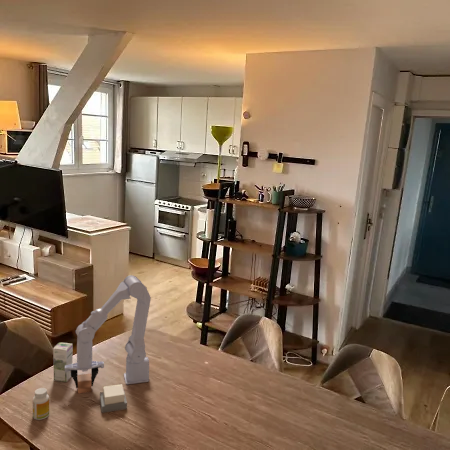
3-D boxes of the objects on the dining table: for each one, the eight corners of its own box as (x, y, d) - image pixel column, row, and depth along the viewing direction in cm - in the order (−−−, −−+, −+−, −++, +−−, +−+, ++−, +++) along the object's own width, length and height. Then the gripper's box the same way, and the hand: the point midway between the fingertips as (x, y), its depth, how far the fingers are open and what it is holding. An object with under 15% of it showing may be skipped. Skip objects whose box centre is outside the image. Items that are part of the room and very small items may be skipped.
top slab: (121, 391, 163) (122, 384, 162) (124, 401, 156) (124, 394, 156) (103, 393, 160) (103, 386, 160) (104, 404, 154) (105, 397, 153)
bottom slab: (123, 396, 165) (123, 389, 164) (126, 410, 156) (127, 402, 156) (99, 399, 161) (99, 392, 161) (101, 413, 153) (101, 406, 153)
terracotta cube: (90, 384, 170) (90, 373, 169) (91, 391, 165) (91, 380, 164) (77, 386, 168) (77, 375, 167) (77, 393, 163) (77, 381, 162)
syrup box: (73, 374, 175) (73, 342, 173) (66, 382, 170) (66, 349, 167) (60, 373, 176) (59, 341, 173) (53, 381, 170) (52, 348, 167)
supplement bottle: (52, 413, 151) (52, 388, 149) (41, 422, 146) (41, 397, 144) (40, 409, 153) (40, 385, 151) (29, 417, 148) (28, 393, 146)
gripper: (64, 361, 157) (64, 394, 160) (104, 357, 162) (104, 389, 165) (64, 352, 164) (64, 383, 166) (103, 348, 169) (102, 379, 171)
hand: (84, 385), depth 166 cm, fingers closed on terracotta cube, 5 cm apart
